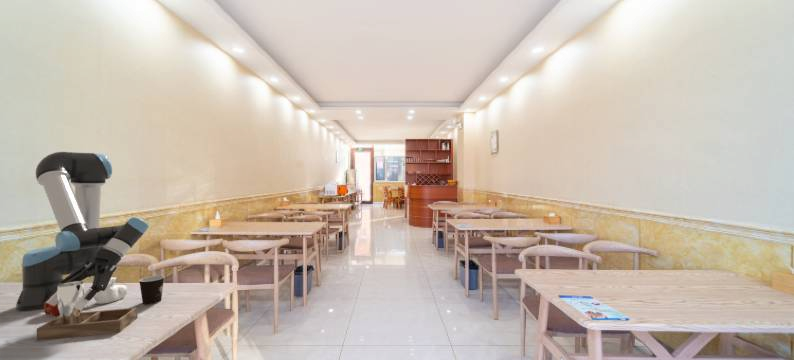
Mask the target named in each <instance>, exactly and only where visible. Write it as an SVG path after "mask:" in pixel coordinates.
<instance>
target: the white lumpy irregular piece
mask: <svg viewBox="0 0 794 360" xmlns="http://www.w3.org/2000/svg"><path fill="white" fill-rule="evenodd" d="M116 280H117V276H115V277H114V276H113V277H111V279H110V281H109V283H108V285H107V287H106V289H105V290H104V291H100V292H97V293H96V294H95V296H93V299H94V300H95V301H96V302H95V303H97V304H98V305H103V304H110V303H112V302H116V301H120V300H121V299H123V298H124V297H126V296H127V293H128V287H127V286H126V285H124V284H123V285H122V284H116V285H115V283H116Z"/></svg>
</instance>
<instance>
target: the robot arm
mask: <svg viewBox="0 0 794 360" xmlns="http://www.w3.org/2000/svg"><path fill="white" fill-rule="evenodd" d="M112 175H113V166H112V162H111V161H110V159H109V157H108V156H107V155H105V154H103V153H94V152H72V151H71V152H70V151H57V152H53V153H51V154H48V155H46V156H45V157H43V158H42V159H41V160H40V161H39V163H38V164H37V166H36V169H35V178H36V181H37V184H39V185H40V186H42V187H43V189H44V192H45V194H46V197H47V199H48V201H49V204H50V207H51V210H52V213H53V215H54V218H55V220H56V222H57V225H58V228H59V230H60V231H59V232H57V233H56V235H55V239H54V242H55V245H53V246H45V247H40V248H37V249H34V250H30V251H28V252H26V253H24V254H23V256H22V260H21V261H22V262H21V263H22V264H21V267H22V273H21V275H22V290H21V291H20V294H19V296H18V299H17V302H16V304H15V309H16V311H23V312H24V311H36V310H41V309H42V310H43V309H45V308H44V303H45V302H46V300H48V299H49V298H50V297H51V296H52V295H53V294H54V295H53V296H52V297H51V298H50V299H49V300H48V301H47V302H46V303H48V304H50V305H52V306H55V305H56V304H57V288H58V287H57V286H58V285H60V284H64V283H68V282H75V281H84V280H85V279H87V278H91V277H93V281H92V285H91V286H89V288H88V289H86V291H85V293H84V295H83V296H82V297H81V298H80V299H79V300H78V301H77V302H76V304H75V305H74V306H73V307H74V308H76V309H78V310H80V311H81V310H82V311H83V309H84V308H85V307H86V306H87V305H88V304H89V303H90V301H91V300H93V299H94V297H93V296H95V294H96V293H97V292H100V291H104V290H105V289H106V287H107V285H108V283H109V281H110V279H111V277H112V276H113V275H114V273H115V271H116V270H117V265H118V264H119V263H120V261H121V260H122V258H123V257H124V256H126V254H128V252H129V250H130V249H132V247H134V245H135V244H136V243H137V242H138V241H139V239H140V238H142V236H143V235H145V233H146V232H147V231H148V230H149V224H148V222H146V221H145V220H144V219H142V218H141V217H140V218H139V217H137V216H133V217H132V216H131V218H129V219H128V220H126V222H125V223H124V224H121V225H113V226H104V227H100V213H101V195H102V194H101V193H102V192H101V191H102V190H101V189H102V188H101V187H102V186H104V185H105V184H106V180H108V179H110V178H111V177H112ZM71 185H73V186H74V191H73V188H72V186H71ZM66 275H68V276H66ZM64 276H66V277H65V278H64Z"/></svg>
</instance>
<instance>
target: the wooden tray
mask: <svg viewBox="0 0 794 360" xmlns="http://www.w3.org/2000/svg"><path fill="white" fill-rule="evenodd" d="M137 319H138V307H127V308H115V309H104V310H94V311H92V310H91V311H82V320H83V322H81V323H79V324H68V325H60V321H61V318H60V316H56V317H55V318H53V319H51V320H50V321H48V322H46V323H45V324H42V325H39V327H37V328H36V341H37V342H39V341H40V342H41V341H48V340H49V341H50V340H57V339H59V340H60V339H66V338H75V337H86V336H95V335H96V336H97V334H98V335H104V334H105V335H106V334H115V333H121V332H122V331H124V330H125V329H126V328H127V327H128V326H130V325H131V324H132V323H133V322H134V321H136V320H137ZM124 328H125V329H124Z"/></svg>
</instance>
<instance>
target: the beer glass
mask: <svg viewBox="0 0 794 360" xmlns="http://www.w3.org/2000/svg"><path fill="white" fill-rule="evenodd" d="M57 287H58V288H57V306H58V310H59V313H60V318H61V321H60V325H68V324H79V323H81V322H83V320H82V312H83V309H82V310H81V311H80V310H78V309H76V308H74V307H73V306H74V305H75V304H76V302H77V301H78V300H79V299H80V298H81V297H82V296H83V295H84V293H85V292H86V291H85V281H84V280H82V281H75V282H68V283H64V284H60V285H58V286H57Z"/></svg>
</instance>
